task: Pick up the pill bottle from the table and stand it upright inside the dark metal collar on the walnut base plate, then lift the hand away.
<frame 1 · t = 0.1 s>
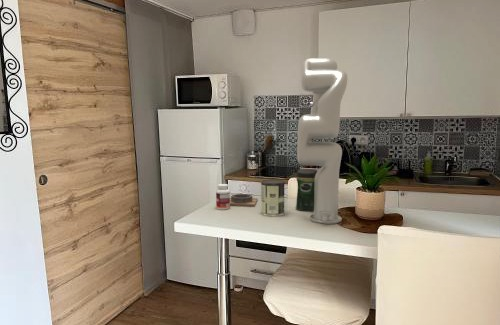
hand: (319, 137, 190), 31 cm above the table, tool pointing down, fingers open, 9 cm apart
coffee can: (272, 213, 160), on the table
collar holder: (241, 203, 179), on the table
pill bottle: (223, 208, 168), on the table
coffee jar: (306, 209, 167), on the table
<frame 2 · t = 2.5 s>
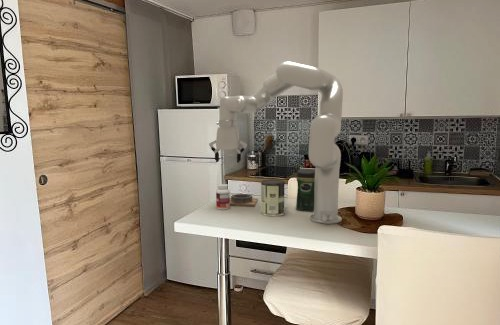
hand: (227, 162, 167), 21 cm above the table, tool pointing down, fingers open, 9 cm apart
nothing on the table moved.
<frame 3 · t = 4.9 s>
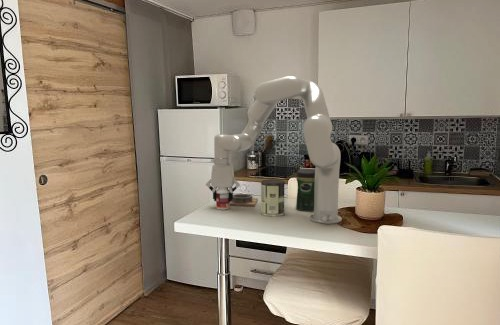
hand: (223, 200, 168), 4 cm above the table, tool pointing down, fingers closed on pill bottle, 6 cm apart
pill bottle: (223, 208, 168), on the table, touching gripper
everything else where it was.
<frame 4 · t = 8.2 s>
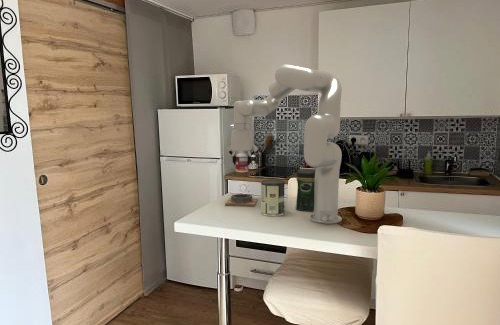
hand: (241, 164, 177), 19 cm above the table, tool pointing down, fingers closed on pill bottle, 6 cm apart
pill bottle: (241, 172, 177), point 15 cm above the table, touching gripper
everything else where it was.
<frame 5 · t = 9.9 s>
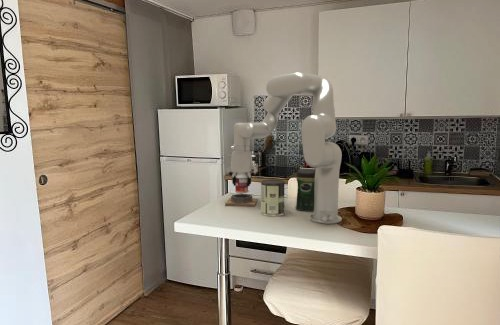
hand: (241, 185, 178), 9 cm above the table, tool pointing down, fingers closed on pill bottle, 6 cm apart
pill bottle: (241, 192, 179), point 5 cm above the table, touching gripper
everything else where it was.
when the fingers open (5 cm above the table, at t = 11.5 s): pill bottle stays where it is, resting on collar holder.
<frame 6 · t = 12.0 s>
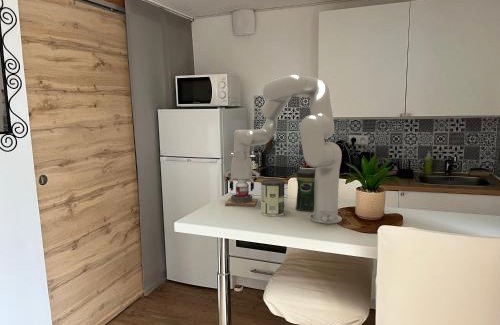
hand: (241, 190, 178), 6 cm above the table, tool pointing down, fingers open, 9 cm apart
pill bottle: (242, 201, 179), point 1 cm above the table, touching collar holder
everything else where it was.
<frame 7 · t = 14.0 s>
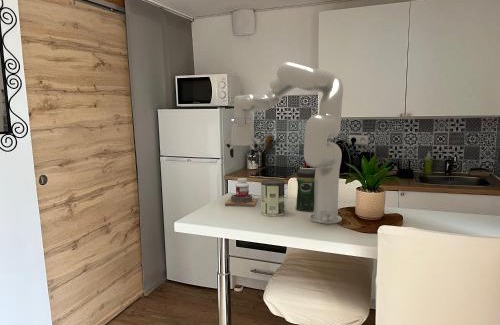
hand: (242, 157, 176), 22 cm above the table, tool pointing down, fingers open, 9 cm apart
nothing on the table moved.
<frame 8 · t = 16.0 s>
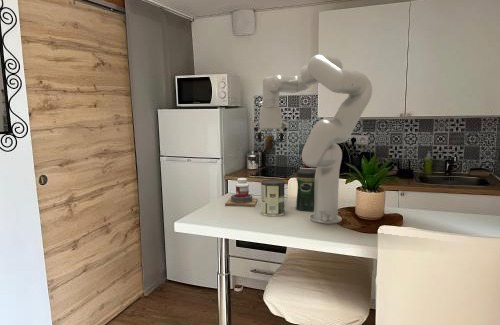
hand: (270, 141, 170), 30 cm above the table, tool pointing down, fingers open, 9 cm apart
nothing on the table moved.
at the end: pill bottle 0.2 cm off-centre on the collar holder, point 0.8 cm above the collar holder's base; pill bottle tilted 0°; the gripper is holding nothing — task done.
